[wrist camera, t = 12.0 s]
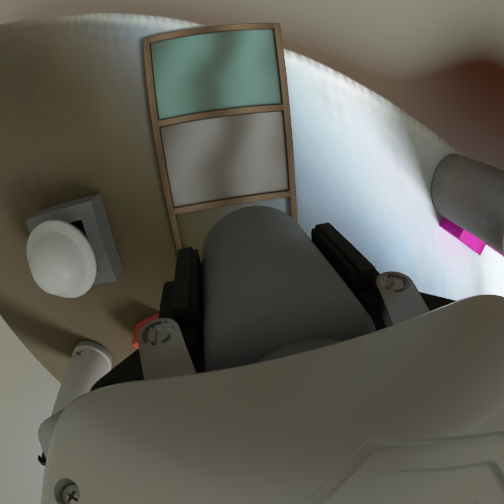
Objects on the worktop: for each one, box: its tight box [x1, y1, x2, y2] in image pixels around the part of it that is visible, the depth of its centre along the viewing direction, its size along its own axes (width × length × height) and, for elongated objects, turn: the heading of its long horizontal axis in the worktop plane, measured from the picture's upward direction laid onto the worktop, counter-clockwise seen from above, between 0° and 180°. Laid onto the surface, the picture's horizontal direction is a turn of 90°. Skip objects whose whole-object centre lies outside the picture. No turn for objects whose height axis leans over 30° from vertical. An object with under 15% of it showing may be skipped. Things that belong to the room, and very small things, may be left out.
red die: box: [132, 313, 159, 349], centre depth 32 cm, size 4×4×4 cm
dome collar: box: [25, 193, 123, 285], centre depth 26 cm, size 9×9×3 cm
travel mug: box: [38, 341, 113, 466], centre depth 26 cm, size 6×7×20 cm
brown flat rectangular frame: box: [143, 23, 297, 253], centre depth 26 cm, size 13×28×1 cm, turn 6°
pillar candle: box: [431, 154, 504, 255], centre depth 25 cm, size 10×10×15 cm
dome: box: [26, 219, 97, 298], centre depth 23 cm, size 8×8×7 cm
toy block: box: [440, 217, 504, 256], centre depth 32 cm, size 15×6×8 cm, turn 68°
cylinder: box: [201, 206, 376, 372], centre depth 8 cm, size 5×5×10 cm
